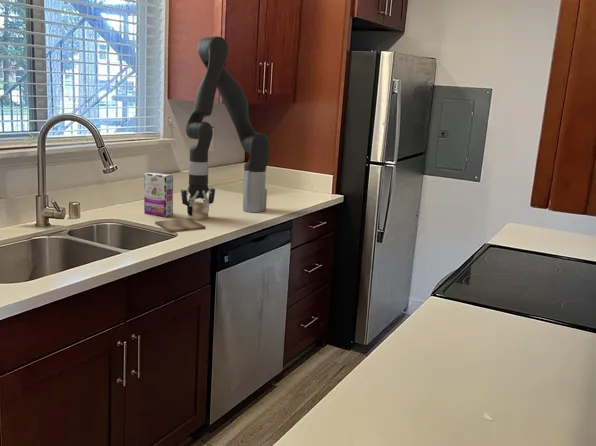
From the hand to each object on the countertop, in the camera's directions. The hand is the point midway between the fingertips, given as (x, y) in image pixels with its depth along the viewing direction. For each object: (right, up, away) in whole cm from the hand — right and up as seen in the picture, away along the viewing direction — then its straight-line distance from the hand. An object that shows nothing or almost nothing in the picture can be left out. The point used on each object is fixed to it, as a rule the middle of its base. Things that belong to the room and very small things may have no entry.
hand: (197, 214), depth 234 cm
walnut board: (-4, -5, -14) cm, 16 cm away
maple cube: (0, -1, 0) cm, 1 cm away
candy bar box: (-16, 0, +2) cm, 16 cm away
